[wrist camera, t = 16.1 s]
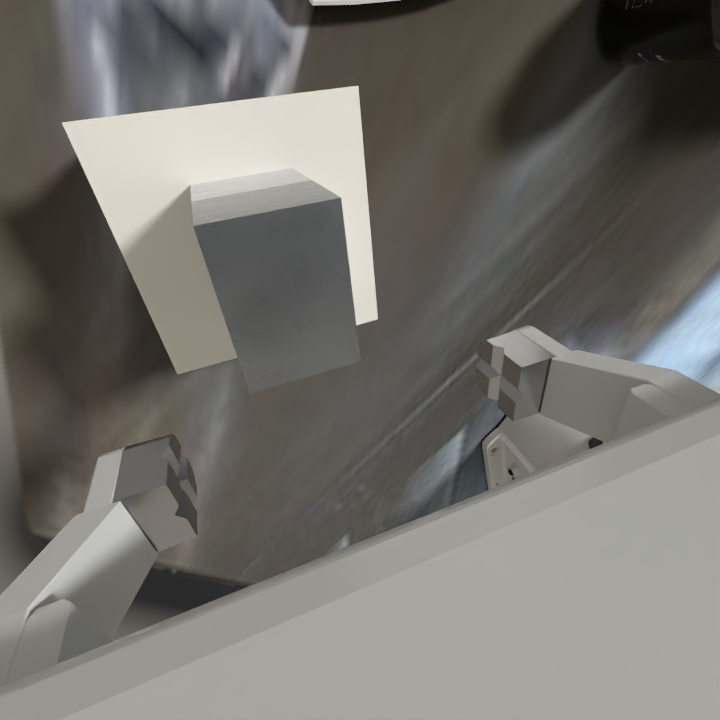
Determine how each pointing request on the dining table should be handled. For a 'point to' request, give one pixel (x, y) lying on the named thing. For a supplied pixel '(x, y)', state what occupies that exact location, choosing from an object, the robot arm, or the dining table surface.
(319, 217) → the block
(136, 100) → the dining table surface
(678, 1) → the supplement bottle
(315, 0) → the plate
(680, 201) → the dining table surface
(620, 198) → the dining table surface
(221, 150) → the stand
